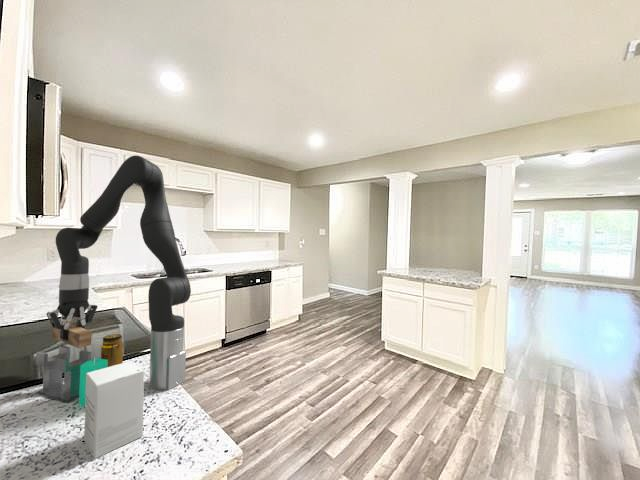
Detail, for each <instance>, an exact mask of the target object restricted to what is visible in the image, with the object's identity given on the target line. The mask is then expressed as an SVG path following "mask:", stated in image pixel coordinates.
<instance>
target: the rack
mask: <svg viewBox="0 0 640 480" xmlns="http://www.w3.org/2000/svg"><path fill="white" fill-rule="evenodd" d="M48 355H49V354H48V353H47V352H43V351H36V352H35V365H36V366H40V367H43V377H42V388H40V389H38V390H36V391H37V393H36V394H39V395H42V396H45V397H48V398H50V399H53V400H56V401H59V402H62V403H65V404H69V403H71V402H73V401H75V400H79V389H80V366H81V365H82V364H83V363H85V362H87V361H90V360H92V351H88V350H83V349H82V350H79V358H78V359H76V360H72V361H70V359H71V346H66V345H59V347H58V354H55V355H52V356H48ZM63 373H64V374H63ZM63 376H64V377H63ZM63 378H64V379H63Z"/></svg>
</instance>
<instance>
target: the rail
mask: <svg viewBox="0 0 640 480" xmlns="http://www.w3.org/2000/svg"><path fill="white" fill-rule="evenodd" d="M60 324H61V322H60ZM51 327H52V326H51ZM51 329H52V330H51V338H53V339H54V340H57V341H59V342H62V343H64V344H67V345H70V346H71V347H75V348H77V349H81V348H84V347H88V346H91V344H92V338H93V331H92V330H89V329H86V328H81V327H78V325H75V324H73V323H71V322H70V323H69V327H68V329H69V330H68V340H67V341H63V340H62V339H60V329H55V328H53V327H52V328H51Z"/></svg>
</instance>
